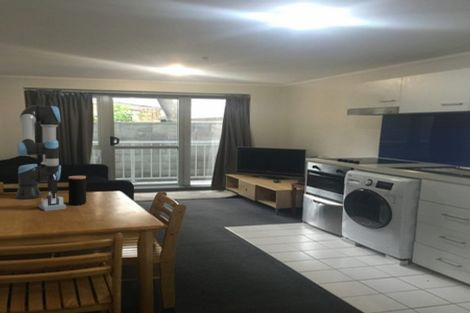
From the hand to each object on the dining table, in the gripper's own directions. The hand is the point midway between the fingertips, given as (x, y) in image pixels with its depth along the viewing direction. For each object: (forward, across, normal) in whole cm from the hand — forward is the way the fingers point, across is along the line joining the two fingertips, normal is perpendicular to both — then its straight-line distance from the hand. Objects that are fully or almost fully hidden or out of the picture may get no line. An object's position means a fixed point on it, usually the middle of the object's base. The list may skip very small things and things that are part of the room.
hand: (52, 202), depth 230 cm
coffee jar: (+3, -3, +16) cm, 17 cm away
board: (+3, 0, 0) cm, 3 cm away
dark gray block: (0, 0, 0) cm, 1 cm away
